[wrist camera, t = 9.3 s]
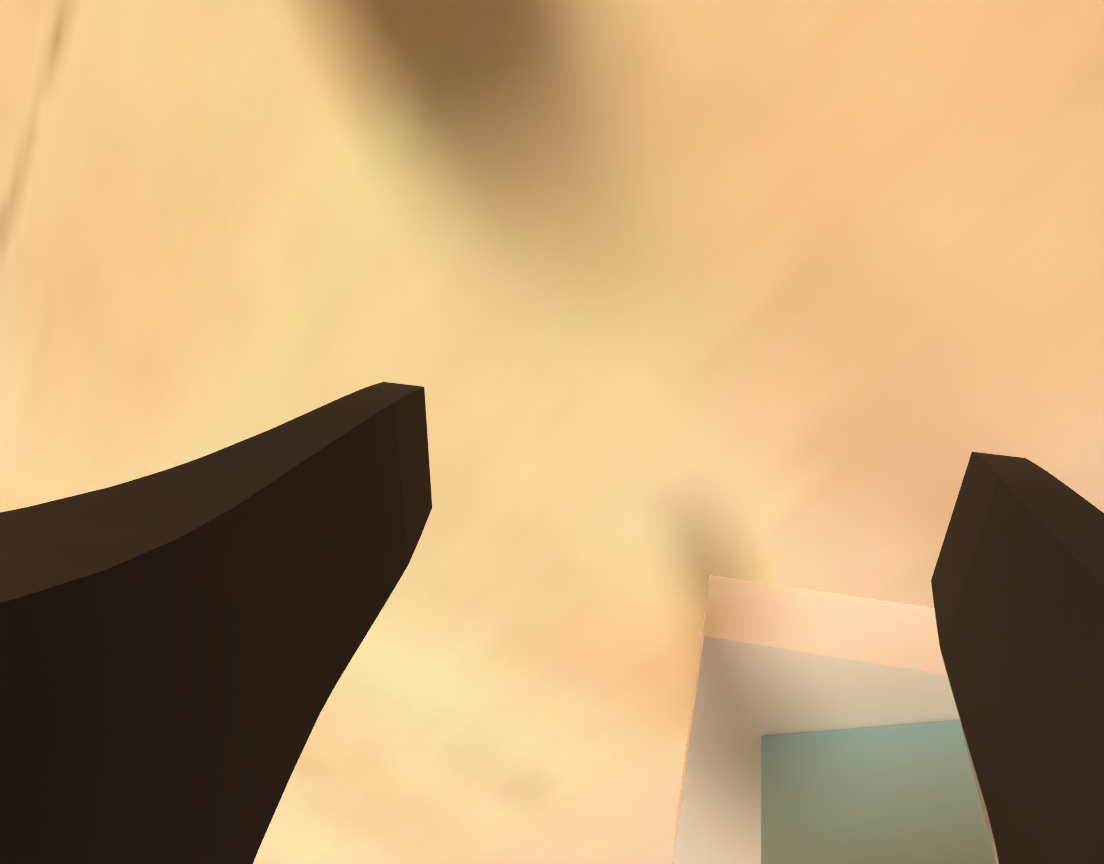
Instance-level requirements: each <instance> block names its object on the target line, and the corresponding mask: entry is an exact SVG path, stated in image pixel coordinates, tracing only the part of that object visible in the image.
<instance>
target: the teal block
mask: <svg viewBox="0 0 1104 864" xmlns="http://www.w3.org/2000/svg"><path fill="white" fill-rule="evenodd" d="M761 864H996V861H995V857H994V853H993V849H992V845H991V841H990V837H989V834H988V830H987V826H986V822H985V818H984V814H983V810H982V806H981V802H980V798H979V794H978V791H977V787H976V783H975V779H974V775H973V771H972V767H971V763H970V759H969V755H968V751H967V748H966V744H965V740H964V736H963V732H962V728H961V724H960V720H952V721H940V722H927V723H915V724H903V725H890V726H878V727H866V728H853V729H841V730H829V731H816V732H804V733H792V734H779V735H767V736H762V746H761Z"/></svg>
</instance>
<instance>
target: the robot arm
mask: <svg viewBox="0 0 1104 864" xmlns="http://www.w3.org/2000/svg"><path fill="white" fill-rule="evenodd" d="M431 509H432V499H431V484H430V469H429V454H428V439H427V424H426V409H425V393H424V387H421V386H413V385H404V384H396V383H388V382H382V383H379V384H375V385H372V386H369V387H366V388H364V389H361V390H359V391H356V392H354V393H351V394H349V395H347V396H344V397H342V398H340V399H338V400H335V401H333V402H331V403H329V404H326V405H324V406H322V407H320V408H317V409H315V410H313V411H311V412H309V413H306V414H304V415H302V416H300V417H297V418H295V419H293V420H291V421H288V422H286V423H284V424H282V425H280V426H277V427H275V428H273V429H271V430H268V431H266V432H263V433H261V434H259V435H256V436H254V437H251V438H249V439H246V440H244V441H241V442H239V443H236V444H234V445H231V446H229V447H226V448H224V449H221V450H219V451H217V452H214V453H212V454H209V455H207V456H204V457H202V458H199V459H196V460H193V461H191V462H188V463H185V464H182V465H179V466H176V467H173V468H170V469H168V470H165V471H161V472H158V473H155V474H152V475H149V476H145V477H142V478H139V479H136V480H132V481H129V482H126V483H123V484H119V485H116V486H112V487H109V488H105V489H101V490H96V491H92V492H88V493H84V494H80V495H76V496H72V497H68V498H64V499H59V500H55V501H51V502H47V503H43V504H39V505H35V506H31V507H26V508H21V509H17V510H11V511H6V512H1V513H0V864H253V862H254V859H255V857H256V854H257V852H258V849H259V847H260V845H261V842H262V840H263V838H264V836H265V833H266V831H267V829H268V826H269V824H270V822H271V819H272V817H273V815H274V813H275V810H276V808H277V806H278V803H279V801H280V799H281V797H282V794H283V792H284V790H285V787H286V785H287V783H288V781H289V778H290V776H291V774H292V772H293V770H294V767H295V765H296V763H297V761H298V759H299V757H300V755H301V753H302V750H303V748H304V746H305V744H306V742H307V740H308V738H309V735H310V733H311V731H312V729H313V727H314V725H315V723H316V720H317V718H318V716H319V714H320V712H321V710H322V709H323V707H324V705H325V703H326V701H327V699H328V698H329V696H330V694H331V692H332V690H333V689H334V687H335V685H336V683H337V682H338V680H339V678H340V677H341V675H342V673H343V672H344V670H345V669H346V667H347V665H348V664H349V662H350V660H351V659H352V657H353V655H354V654H355V652H356V650H357V649H358V647H359V646H360V644H361V642H362V641H363V639H364V637H365V636H366V634H367V632H368V631H369V629H370V628H371V626H372V624H373V623H374V621H375V619H376V618H377V616H378V614H379V613H380V611H381V610H382V608H383V606H384V605H385V603H386V601H387V600H388V598H389V596H390V595H391V593H392V591H393V590H394V588H395V586H396V584H397V583H398V581H399V579H400V578H401V576H402V574H403V573H404V571H405V569H406V567H407V566H408V564H409V562H410V559H411V557H412V555H413V553H414V550H415V548H416V546H417V543H418V541H419V539H420V536H421V534H422V531H423V529H424V526H425V524H426V521H427V519H428V516H429V514H430V511H431ZM931 582H932V591H933V600H934V608H935V617H936V624H937V631H938V638H939V645H940V650H941V654H942V657H943V661H944V665H945V668H946V672H947V675H948V679H949V683H950V686H951V690H952V693H953V697H954V700H955V704H956V707H957V710H958V714H959V717H960V721H961V724H962V727H963V731H964V734H965V738H966V741H967V744H968V748H969V751H970V755H971V758H972V761H973V765H974V768H975V772H976V775H977V778H978V782H979V785H980V789H981V792H982V795H983V799H984V802H985V806H986V809H987V813H988V817H989V821H990V825H991V829H992V834H993V838H994V842H995V846H996V851H997V856H998V862H999V864H1104V513H1103V512H1101V511H1100V510H1099V509H1097V508H1096V507H1095V506H1093V505H1092V504H1091V503H1089V502H1088V501H1087V500H1085V499H1084V498H1083V497H1081V496H1080V495H1079V494H1077V493H1076V492H1075V491H1073V490H1072V489H1071V488H1069V487H1068V486H1066V485H1065V484H1064V483H1062V482H1061V481H1059V480H1058V479H1057V478H1055V477H1054V476H1052V475H1051V474H1050V473H1048V472H1047V471H1045V470H1044V469H1042V468H1041V467H1039V466H1038V465H1036V464H1034V463H1033V462H1031V461H1029V460H1027V459H1026V458H1019V457H1011V456H1002V455H994V454H986V453H977V452H972V454H971V457H970V460H969V463H968V466H967V469H966V473H965V476H964V479H963V482H962V485H961V488H960V491H959V495H958V498H957V501H956V504H955V507H954V510H953V513H952V517H951V520H950V523H949V526H948V529H947V532H946V536H945V539H944V542H943V545H942V548H941V551H940V554H939V558H938V561H937V564H936V567H935V570H934V573H933V576H932V580H931Z"/></svg>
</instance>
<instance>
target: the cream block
mask: <svg viewBox="0 0 1104 864" xmlns="http://www.w3.org/2000/svg"><path fill="white" fill-rule="evenodd" d="M952 720H960V717H959V714H958V710H957V707H956V704H955V700H954V697H953V693H952V690H951V686H950V683H949V679H948V675H947V672H946V668H945V665H944V661H943V657H942V654H941V650H940V645H939V638H938V631H937V624H936V617H935V608H931V607H924V606H918V605H911V604H904V603H897V602H890V601H884V600H877V599H870V598H863V597H856V596H849V595H843V594H836V593H829V592H822V591H815V590H809V589H802V588H795V587H788V586H781V585H775V584H768V583H761V582H754V581H747V580H741V579H734V578H727V577H720V576H713V575H709V582H708V589H707V597H706V604H705V611H704V619H703V626H702V633H701V641H700V648H699V655H698V663H697V670H696V677H695V685H694V692H693V699H692V707H691V714H690V721H689V729H688V736H687V743H686V751H685V758H684V765H683V773H682V780H681V787H680V795H679V802H678V812H677V822H676V833H675V843H674V853H673V863H672V864H761V746H762V736H767V735H779V734H792V733H804V732H816V731H829V730H841V729H853V728H866V727H878V726H890V725H903V724H915V723H927V722H940V721H952ZM960 724H961V721H960ZM961 728H962V732H963V736H964V740H965V744H966V748H967V751H968V755H969V759H970V763H971V767H972V771H973V775H974V779H975V783H976V787H977V791H978V794H979V798H980V802H981V806H982V810H983V814H984V818H985V822H986V826H987V830H988V834H989V837H990V841H991V845H992V849H993V853H994V857H995V861H996V864H999V862H998V856H997V851H996V846H995V842H994V838H993V834H992V829H991V825H990V821H989V817H988V813H987V809H986V806H985V802H984V799H983V795H982V792H981V789H980V785H979V782H978V778H977V775H976V772H975V768H974V765H973V761H972V758H971V755H970V751H969V748H968V744H967V741H966V738H965V734H964V731H963V727H962V724H961Z"/></svg>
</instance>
